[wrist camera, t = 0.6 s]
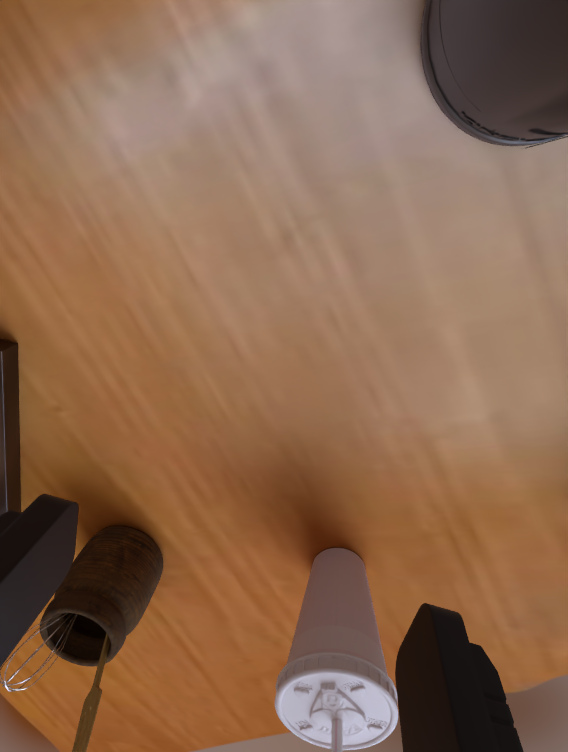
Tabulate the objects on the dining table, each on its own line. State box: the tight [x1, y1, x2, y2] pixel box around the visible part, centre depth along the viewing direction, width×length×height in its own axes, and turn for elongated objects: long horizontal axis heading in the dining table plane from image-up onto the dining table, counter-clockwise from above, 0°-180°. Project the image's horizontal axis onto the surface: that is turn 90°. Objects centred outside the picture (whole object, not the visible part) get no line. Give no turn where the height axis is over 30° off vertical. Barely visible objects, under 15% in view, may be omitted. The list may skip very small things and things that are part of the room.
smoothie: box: [275, 548, 398, 752], centre depth 26 cm, size 6×6×14 cm
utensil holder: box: [0, 526, 163, 752], centre depth 29 cm, size 6×6×12 cm
